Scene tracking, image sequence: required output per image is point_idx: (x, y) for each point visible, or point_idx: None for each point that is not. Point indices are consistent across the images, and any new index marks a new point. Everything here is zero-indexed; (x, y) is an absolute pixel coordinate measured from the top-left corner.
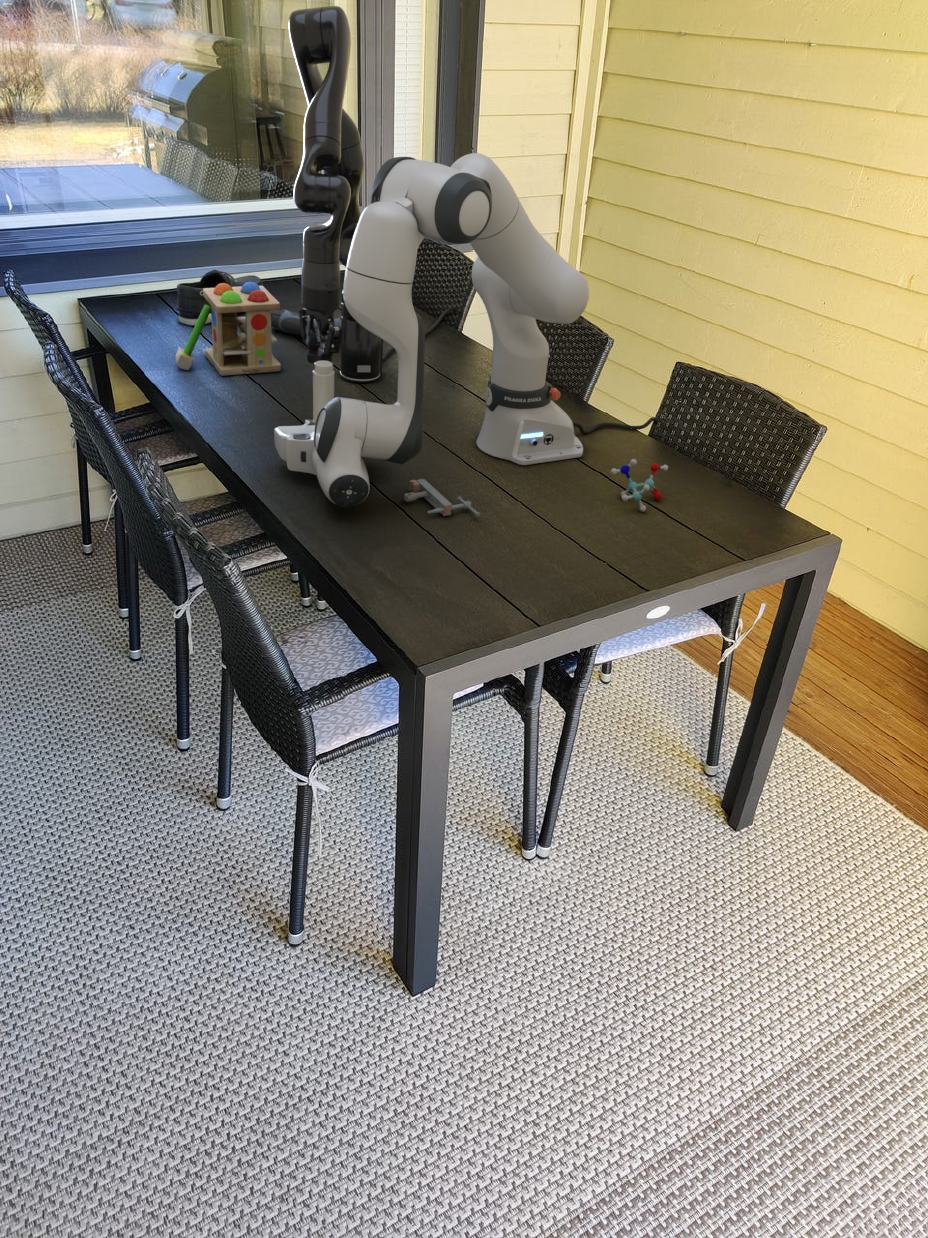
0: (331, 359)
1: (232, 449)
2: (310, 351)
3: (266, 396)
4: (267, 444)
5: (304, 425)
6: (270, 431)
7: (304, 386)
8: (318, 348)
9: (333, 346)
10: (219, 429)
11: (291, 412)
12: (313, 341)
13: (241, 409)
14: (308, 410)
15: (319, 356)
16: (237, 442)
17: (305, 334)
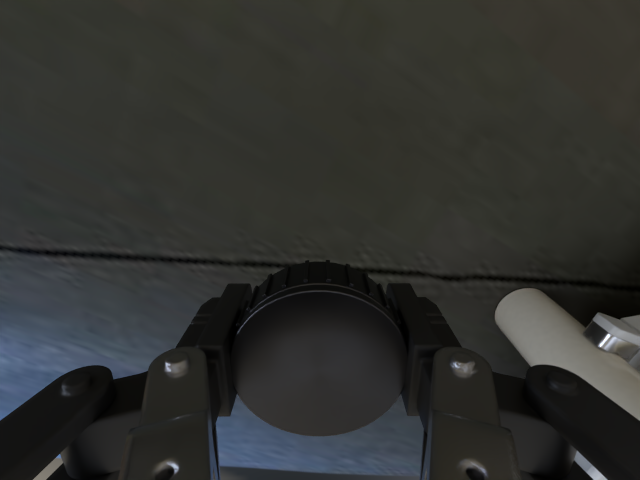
0: (454, 337)
1: (380, 451)
2: (293, 417)
3: (96, 269)
4: None
5: None
6: None
7: (26, 113)
8: (250, 345)
9: (494, 394)
10: (271, 437)
11: (237, 260)
12: (211, 409)
13: None
14: (241, 208)
15: (394, 400)
16: (353, 433)
17: (115, 476)
